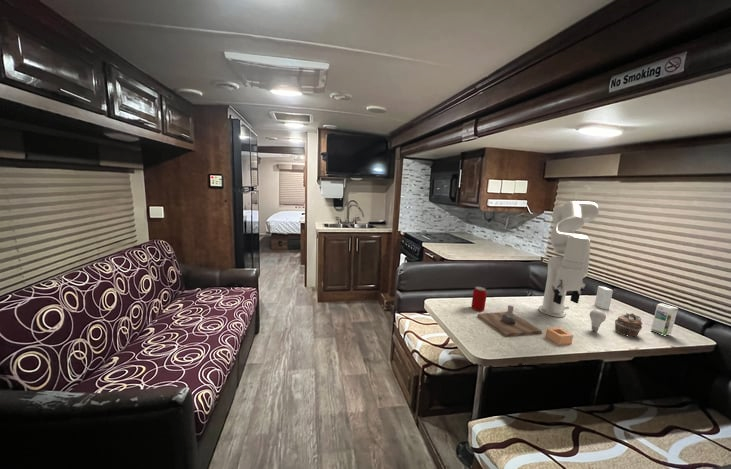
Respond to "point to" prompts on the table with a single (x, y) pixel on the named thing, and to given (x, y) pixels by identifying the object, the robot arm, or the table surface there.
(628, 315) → the cupcake
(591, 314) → the lightbulb
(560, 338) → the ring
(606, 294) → the skincare box
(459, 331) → the table surface
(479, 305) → the beverage can
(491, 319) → the post stand
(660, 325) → the syrup box
